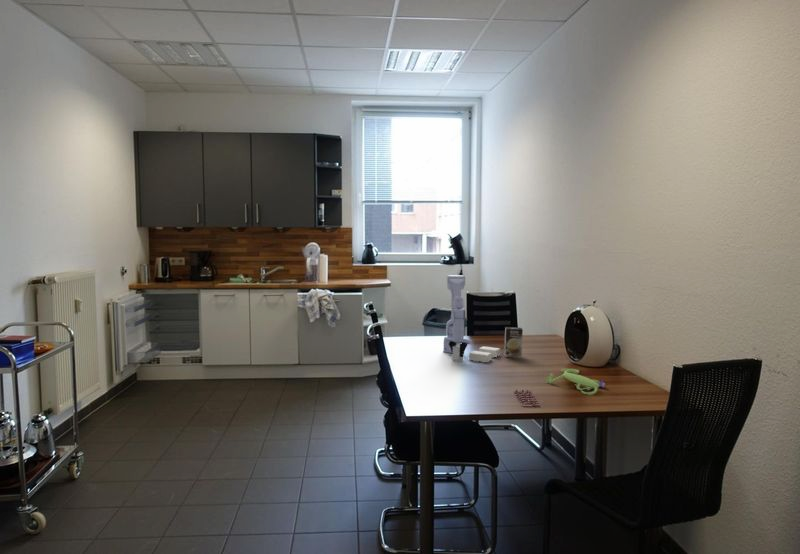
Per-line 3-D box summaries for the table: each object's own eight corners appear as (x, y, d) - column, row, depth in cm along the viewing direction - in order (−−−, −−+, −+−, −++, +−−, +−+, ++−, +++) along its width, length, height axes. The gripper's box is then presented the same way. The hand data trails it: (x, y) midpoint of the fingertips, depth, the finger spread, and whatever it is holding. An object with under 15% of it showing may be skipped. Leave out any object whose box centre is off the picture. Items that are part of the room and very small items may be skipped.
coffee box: (504, 357, 303) (505, 328, 302) (503, 355, 310) (504, 326, 308) (521, 358, 302) (522, 329, 301) (520, 355, 309) (521, 327, 307)
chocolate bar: (522, 408, 220) (522, 403, 219) (514, 393, 238) (514, 389, 238) (540, 408, 219) (540, 403, 219) (530, 394, 238) (531, 389, 238)
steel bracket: (452, 361, 294) (452, 346, 293) (456, 359, 298) (456, 344, 298) (459, 362, 292) (459, 347, 291) (463, 360, 296) (463, 345, 296)
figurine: (566, 376, 267) (566, 365, 267) (615, 390, 245) (616, 377, 245) (540, 382, 257) (540, 370, 256) (589, 397, 235) (589, 384, 234)
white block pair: (469, 360, 296) (469, 352, 296) (483, 353, 313) (483, 346, 313) (487, 362, 291) (487, 355, 291) (499, 355, 309) (500, 348, 308)
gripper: (442, 330, 294) (442, 355, 295) (468, 333, 287) (467, 359, 288) (448, 328, 300) (447, 353, 301) (473, 331, 293) (472, 356, 294)
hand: (457, 356), depth 295 cm, fingers closed on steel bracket, 4 cm apart
